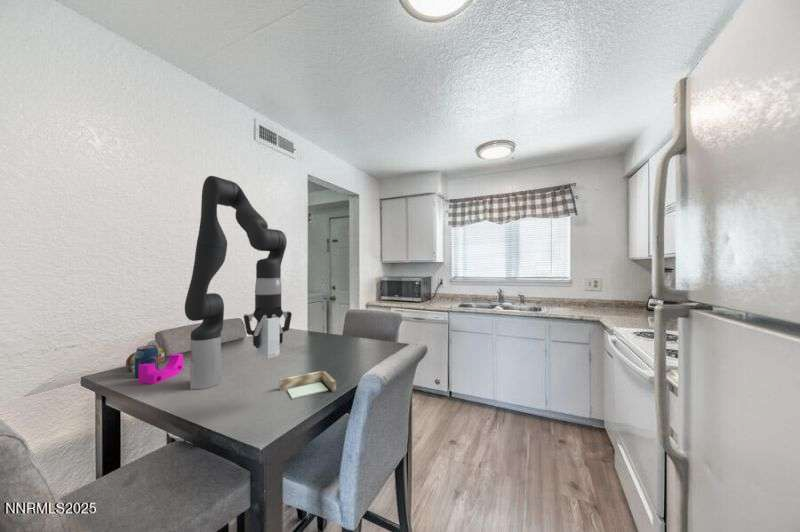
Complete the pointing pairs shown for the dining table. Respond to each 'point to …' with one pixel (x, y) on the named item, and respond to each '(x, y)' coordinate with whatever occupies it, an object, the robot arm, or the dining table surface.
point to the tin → (131, 359)
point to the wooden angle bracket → (308, 380)
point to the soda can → (146, 356)
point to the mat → (306, 390)
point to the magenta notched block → (152, 375)
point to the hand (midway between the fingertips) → (268, 345)
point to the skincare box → (269, 338)
